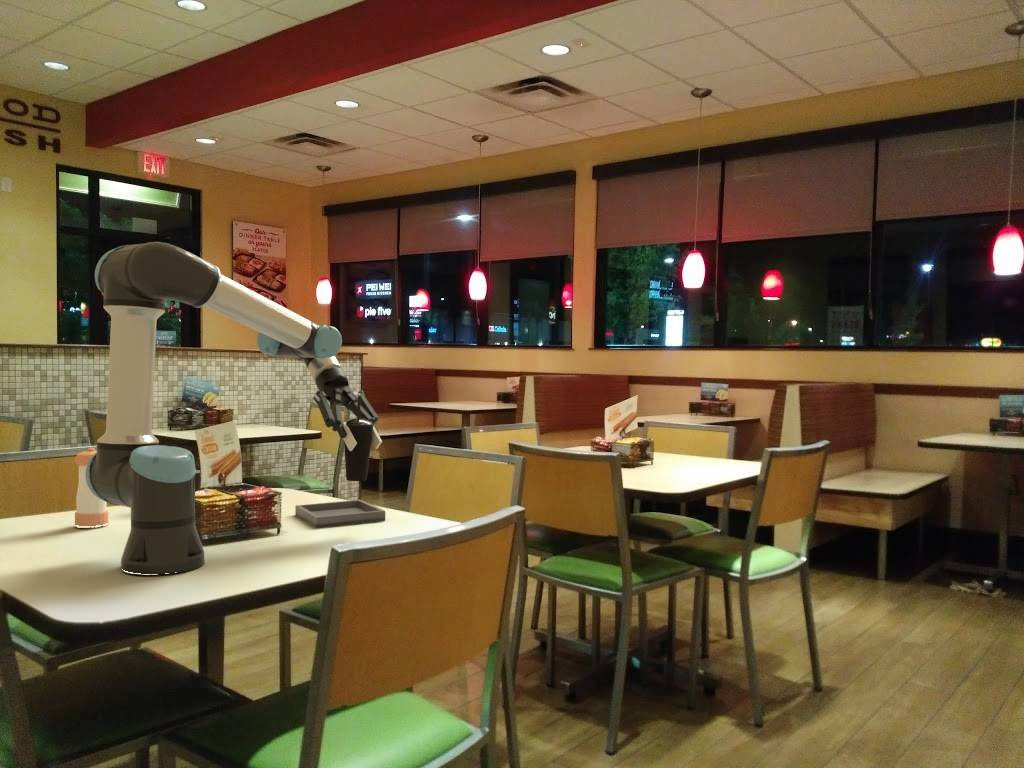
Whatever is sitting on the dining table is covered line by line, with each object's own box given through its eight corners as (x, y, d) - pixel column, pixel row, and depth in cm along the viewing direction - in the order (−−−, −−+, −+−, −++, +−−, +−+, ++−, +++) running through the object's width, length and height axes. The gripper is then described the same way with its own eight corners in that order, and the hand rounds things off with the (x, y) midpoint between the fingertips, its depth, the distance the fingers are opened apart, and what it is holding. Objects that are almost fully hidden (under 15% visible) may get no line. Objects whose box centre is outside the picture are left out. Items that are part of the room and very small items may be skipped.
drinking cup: (369, 482, 185) (371, 397, 185) (337, 481, 185) (339, 396, 185) (375, 478, 193) (377, 397, 192) (344, 477, 193) (346, 395, 192)
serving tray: (316, 527, 192) (316, 517, 192) (295, 514, 207) (295, 505, 207) (385, 520, 201) (385, 510, 201) (360, 508, 217) (360, 499, 217)
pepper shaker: (68, 526, 190) (68, 448, 190) (98, 521, 197) (98, 445, 196) (84, 530, 186) (84, 450, 186) (114, 525, 193) (114, 447, 192)
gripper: (354, 386, 206) (392, 453, 195) (288, 386, 192) (324, 459, 181) (367, 366, 202) (405, 433, 191) (300, 364, 188) (337, 437, 177)
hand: (366, 446), depth 186 cm, fingers closed on drinking cup, 7 cm apart
